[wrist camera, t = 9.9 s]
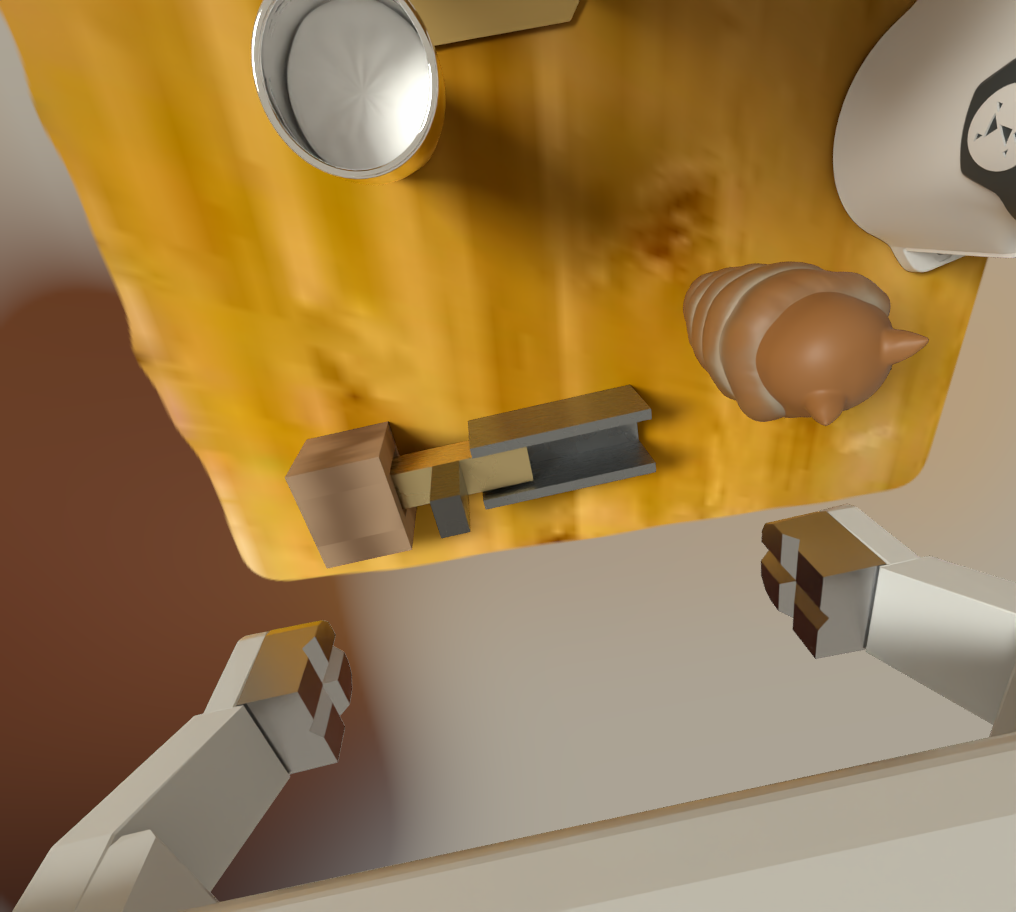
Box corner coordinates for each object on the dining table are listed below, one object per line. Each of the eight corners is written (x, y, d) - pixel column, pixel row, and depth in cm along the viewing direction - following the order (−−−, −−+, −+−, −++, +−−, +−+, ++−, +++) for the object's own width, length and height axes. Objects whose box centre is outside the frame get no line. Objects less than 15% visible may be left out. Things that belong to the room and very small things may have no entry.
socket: (388, 421, 41) (378, 456, 36) (416, 506, 45) (411, 549, 40) (306, 439, 41) (284, 477, 36) (341, 522, 45) (326, 568, 40)
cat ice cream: (688, 375, 42) (834, 494, 26) (624, 308, 39) (743, 394, 23) (781, 289, 39) (1005, 361, 23) (719, 210, 36) (926, 230, 20)
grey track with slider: (629, 384, 42) (651, 408, 37) (635, 442, 44) (656, 471, 40) (467, 420, 42) (469, 448, 37) (482, 476, 44) (485, 509, 40)
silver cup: (437, 43, 31) (426, -63, 18) (455, 178, 34) (457, 174, 21) (317, 56, 31) (213, -42, 17) (346, 190, 34) (278, 195, 21)
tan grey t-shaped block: (521, 428, 41) (535, 478, 34) (528, 461, 43) (543, 515, 36) (345, 467, 41) (324, 524, 34) (358, 499, 43) (340, 560, 36)
